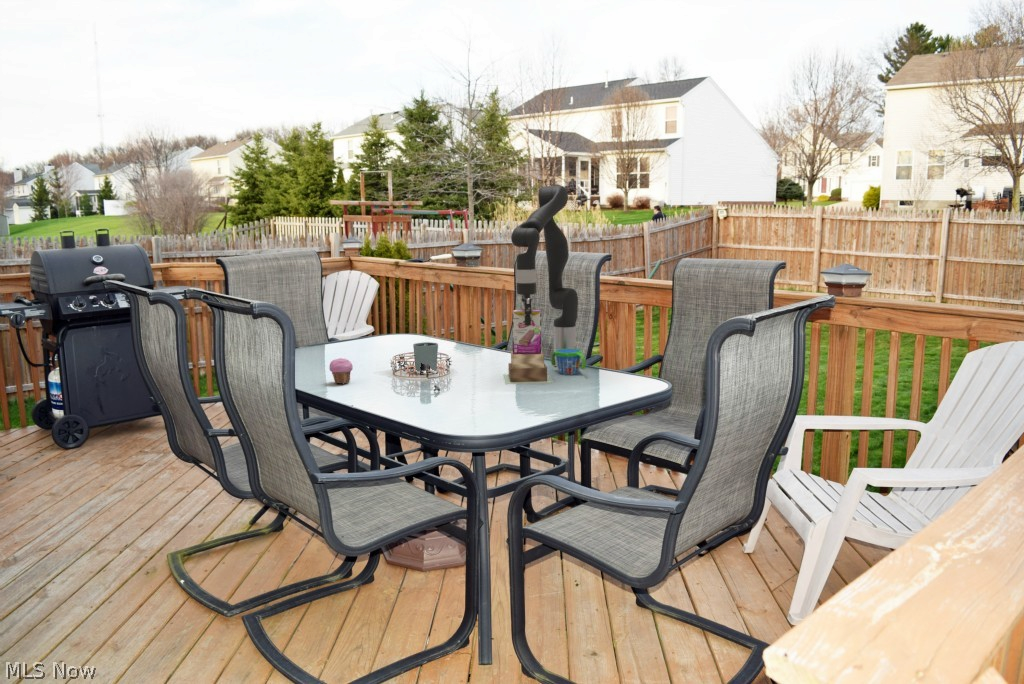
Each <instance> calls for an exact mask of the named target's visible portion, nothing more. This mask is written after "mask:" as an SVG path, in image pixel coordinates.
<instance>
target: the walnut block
mask: <svg viewBox="0 0 1024 684" xmlns="http://www.w3.org/2000/svg"><path fill="white" fill-rule="evenodd" d="M546 365H547V364H545V362H544V368H519V369H513V368H512V365H511V362H508V374H509V379H510V382H536V381H547V373H548V367H547V366H546Z"/></svg>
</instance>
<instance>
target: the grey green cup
mask: <svg viewBox="0 0 1024 684" xmlns="http://www.w3.org/2000/svg"><path fill="white" fill-rule="evenodd" d="M424 344H428V345H429V346H421V345H424ZM412 346H413V353H414V362H415V364H414V366H415V371H416V370H417V371H420V367H421V363H422V364H428V365H429V366H430V368H431V369H432V370H436V369H437V370H438V352H439V351H438V350H439V344H438V343H437V342H428V341H427V342H426V341H425V342H417V343H413V345H412Z"/></svg>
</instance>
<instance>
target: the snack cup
mask: <svg viewBox="0 0 1024 684" xmlns="http://www.w3.org/2000/svg"><path fill="white" fill-rule="evenodd" d="M555 356H556V359H557V365H558V367H557V370H558V371H557V372H558V374H560V375H565V376H567V375H568V376H570V375H571V376H572V375H577V374H578V373H579V368H580V369H581V370H585V368H586V367H587V364H586V363H587V362H586V358H585V355H584V353H582V350H581V349H580V348H577V349H559V350H556V351H555V352H554V351H553V353H552V355H551V359H550V360H551V361H550V363H551V365H552V366H554V365H556V362H555ZM580 359H581V360H580ZM580 361H581V362H580ZM580 363H581V367H580Z"/></svg>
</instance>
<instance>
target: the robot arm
mask: <svg viewBox="0 0 1024 684" xmlns="http://www.w3.org/2000/svg"><path fill="white" fill-rule="evenodd" d="M537 195H538V197H537V198H538V206H539V207H538V208H537V209H535V210H534V211H533V212H532V213H530V215H529V216H528V218H527V219H526V221H523V222H522V223H521V224H519V225H517V227H515V228H514V230H513V231H512V233H511V237H510V239H511V243H512V244H513V245H514V246H515V247H516V248H517V247H518V248H527V250H526V252H523V253H519V254H518V255H516V275H515V277H516V278H515V279H516V285H515V286H516V294H517V295H519V296H520V295H521V299H520V302H521V310H523V311H524V315H525V325H526V326H528V325H531V313H532V312H531V310H533V299H532V298H531V295H535V294H536V293H537V274H536V257H537V251H538V247H539V244H540V234H541V232H543V234H544V236H543V237H544V248H545V254H546V255H545V256H546V262H547V272H548V299H549V304H550V306H551V308H552V309H555V310H559V311H562V312H561V315H560V316H559V317H558V318H557V317H556V318H555V319H554V320H553V353H554V352H555V351H556V350H559V349H578V348H577V347H578V346H577V344H576V343H577V338H576V336H577V335H576V334H577V333H576V332H577V331H576V329H577V319H578V314H579V313H578V312H579V308H578V307H579V296H578V293H577V291H576V289H574V288H572V287H571V288H570V287H564V286H563V273H564V271H565V268H566V266H567V262H568V260H569V255H570V254H569V244H568V239H567V237H566V235H565V233H563V231H562V230H561V228H560V227H559V225H558V224H557V223H556V221H555V218H554V217H555V216H556V215H557V214H558V213H559V212H560V211H561V210H564V208H565V207H566V206H567V203H568V200H569V195H568V190H567V188H566V187H565V186H563V185H551V186H550V185H549V186H541V187H540V188H539V190H538V194H537ZM555 362H556V365H554V366H557V367H556V368H558V365H557V359H556V356H555Z"/></svg>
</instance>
